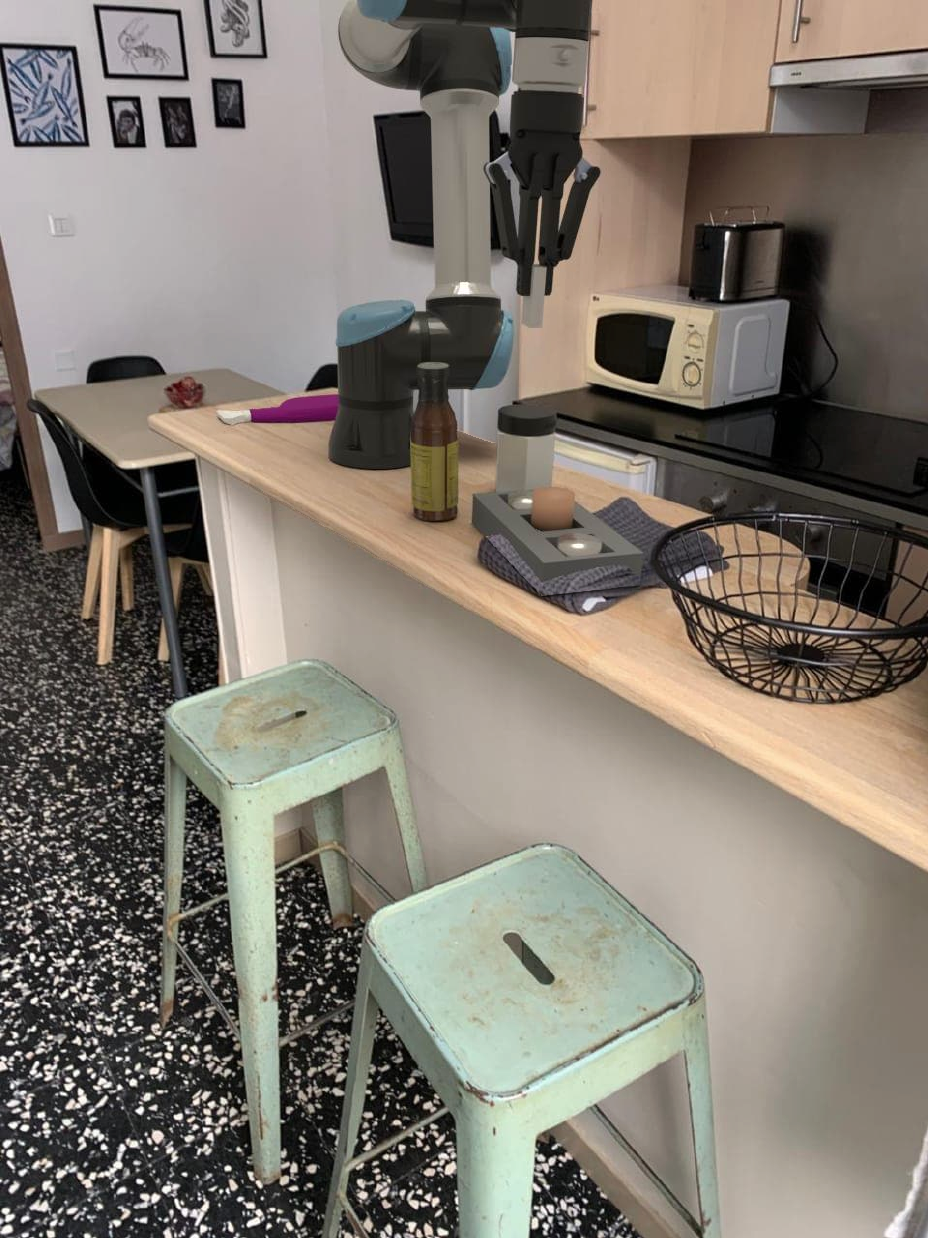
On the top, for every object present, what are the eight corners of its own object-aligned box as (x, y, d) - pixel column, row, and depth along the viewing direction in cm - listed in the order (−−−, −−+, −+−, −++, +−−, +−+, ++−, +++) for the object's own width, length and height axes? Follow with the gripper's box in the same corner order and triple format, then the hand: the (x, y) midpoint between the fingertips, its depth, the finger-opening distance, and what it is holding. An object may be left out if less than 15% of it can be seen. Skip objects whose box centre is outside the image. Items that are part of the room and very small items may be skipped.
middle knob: (524, 519, 114) (526, 488, 112) (562, 516, 115) (564, 485, 114) (540, 533, 110) (542, 501, 108) (579, 530, 111) (582, 498, 109)
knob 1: (500, 521, 122) (502, 492, 120) (536, 518, 123) (538, 489, 122) (514, 534, 118) (516, 504, 116) (551, 531, 119) (553, 501, 117)
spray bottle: (362, 420, 171) (228, 433, 162) (343, 407, 180) (215, 418, 171) (362, 404, 170) (227, 416, 160) (342, 391, 179) (213, 402, 169)
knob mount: (471, 523, 122) (472, 493, 121) (556, 516, 126) (558, 487, 124) (541, 596, 102) (543, 562, 100) (639, 586, 105) (643, 553, 104)
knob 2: (548, 567, 108) (550, 535, 107) (587, 563, 110) (590, 531, 108) (565, 584, 104) (568, 550, 102) (606, 580, 106) (609, 547, 104)
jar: (553, 505, 130) (559, 419, 125) (494, 503, 130) (498, 417, 125) (548, 485, 138) (554, 404, 133) (493, 483, 138) (497, 402, 133)
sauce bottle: (445, 505, 129) (449, 358, 120) (466, 519, 124) (471, 367, 115) (401, 511, 126) (402, 360, 117) (421, 526, 121) (423, 370, 112)
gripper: (501, 85, 91) (489, 333, 102) (621, 92, 95) (597, 330, 106) (476, 86, 97) (467, 320, 108) (589, 93, 101) (569, 318, 112)
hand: (531, 325), depth 107 cm, fingers closed
